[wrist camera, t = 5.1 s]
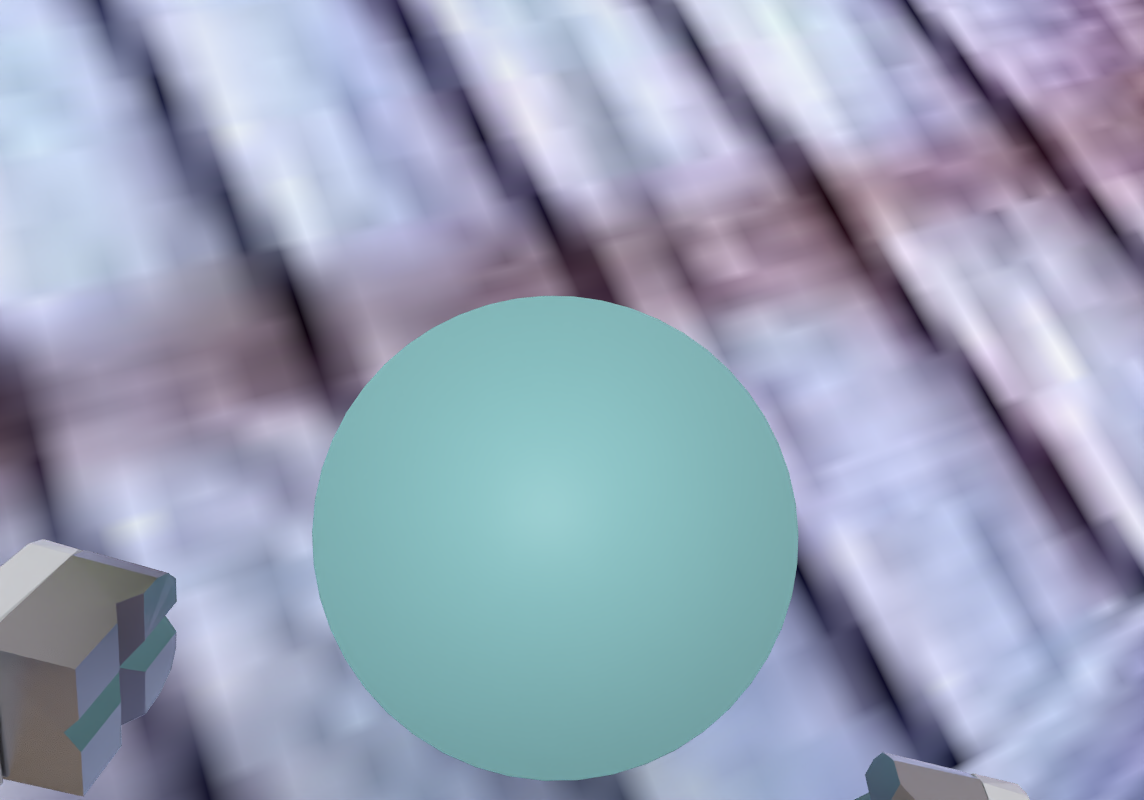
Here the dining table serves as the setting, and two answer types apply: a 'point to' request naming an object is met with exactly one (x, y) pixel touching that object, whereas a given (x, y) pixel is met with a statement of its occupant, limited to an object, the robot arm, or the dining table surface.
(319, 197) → the dining table surface
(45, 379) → the dining table surface
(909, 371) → the dining table surface
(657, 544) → the teal pin
